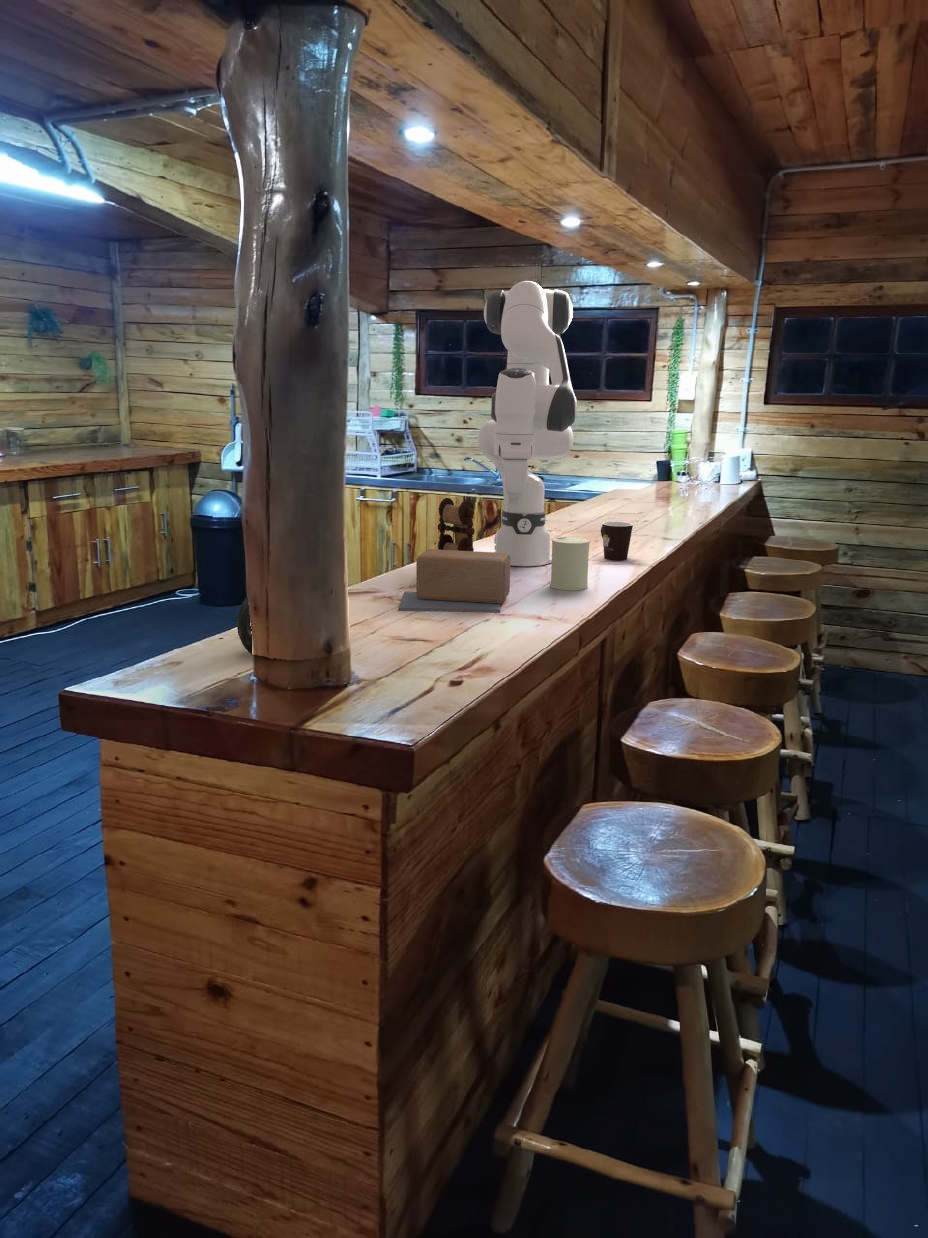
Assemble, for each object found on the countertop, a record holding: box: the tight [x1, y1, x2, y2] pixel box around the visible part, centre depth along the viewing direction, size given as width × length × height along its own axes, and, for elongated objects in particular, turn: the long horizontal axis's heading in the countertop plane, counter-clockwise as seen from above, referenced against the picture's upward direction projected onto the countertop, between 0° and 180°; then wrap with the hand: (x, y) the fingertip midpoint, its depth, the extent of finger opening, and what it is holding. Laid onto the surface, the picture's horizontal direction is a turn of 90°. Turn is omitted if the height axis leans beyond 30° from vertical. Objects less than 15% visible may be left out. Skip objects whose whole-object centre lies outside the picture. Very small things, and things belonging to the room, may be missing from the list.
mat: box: [397, 590, 501, 613], centre depth 201 cm, size 16×22×1 cm
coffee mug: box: [600, 521, 634, 562], centre depth 255 cm, size 12×9×10 cm
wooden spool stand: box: [437, 497, 475, 551], centre depth 224 cm, size 15×15×20 cm
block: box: [415, 548, 511, 604], centre depth 202 cm, size 10×10×20 cm
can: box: [549, 536, 591, 592], centre depth 217 cm, size 9×9×12 cm
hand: (512, 511), depth 196 cm, fingers closed
